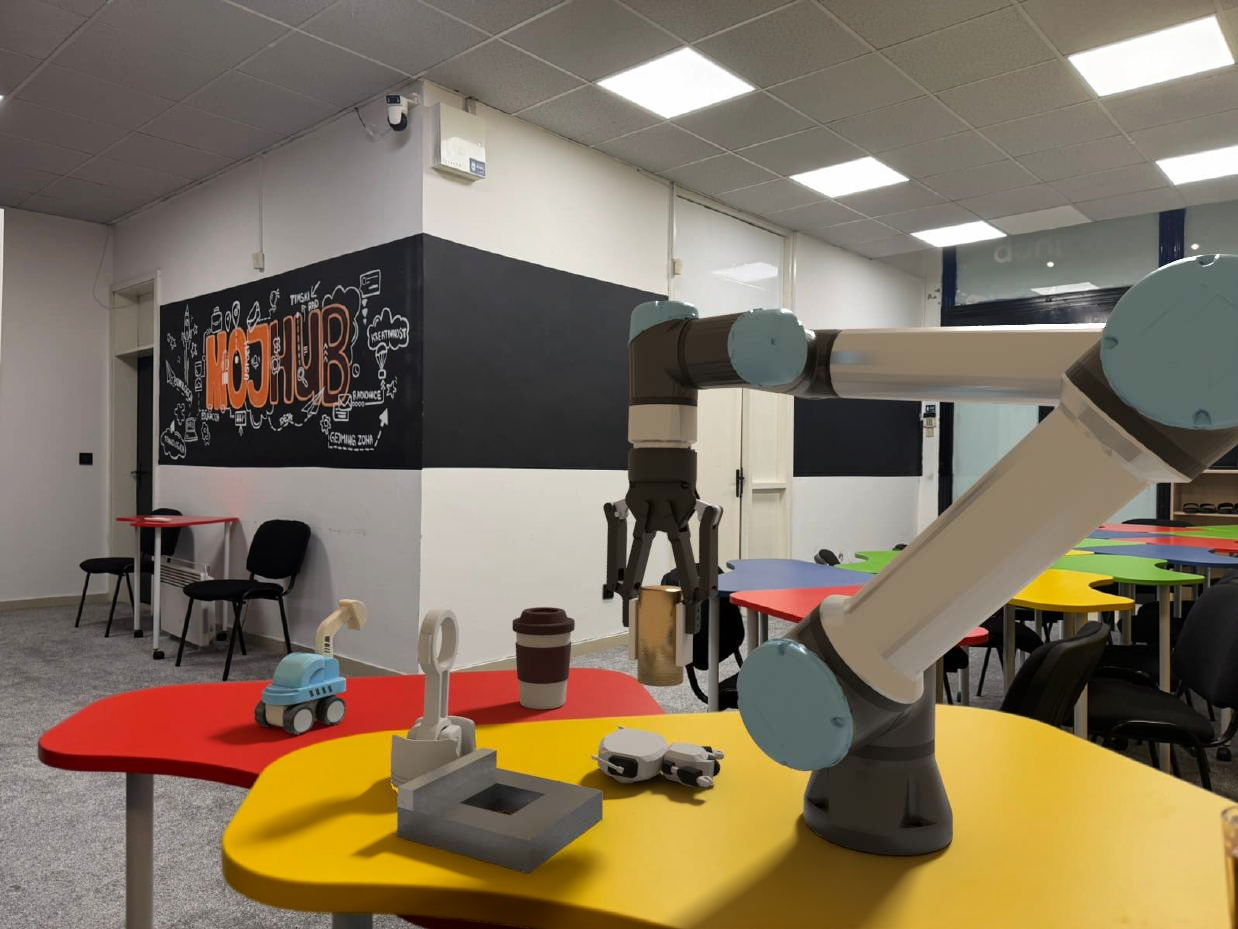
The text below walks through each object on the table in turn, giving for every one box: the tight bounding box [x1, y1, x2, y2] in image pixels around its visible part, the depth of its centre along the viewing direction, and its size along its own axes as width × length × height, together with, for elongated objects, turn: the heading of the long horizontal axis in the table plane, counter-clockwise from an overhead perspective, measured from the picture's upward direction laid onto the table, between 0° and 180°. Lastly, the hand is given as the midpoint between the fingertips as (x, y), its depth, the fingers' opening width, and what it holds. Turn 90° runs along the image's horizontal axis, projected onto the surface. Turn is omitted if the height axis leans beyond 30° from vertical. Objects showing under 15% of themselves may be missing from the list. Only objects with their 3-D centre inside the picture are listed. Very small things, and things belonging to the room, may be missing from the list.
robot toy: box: [590, 725, 725, 788], centre depth 102 cm, size 12×4×15 cm
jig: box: [396, 747, 604, 874], centre depth 87 cm, size 16×14×5 cm
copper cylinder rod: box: [636, 584, 685, 688], centre depth 91 cm, size 5×5×10 cm
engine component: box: [390, 607, 478, 788], centre depth 100 cm, size 11×20×10 cm
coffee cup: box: [511, 606, 576, 710], centre depth 133 cm, size 10×10×15 cm
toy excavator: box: [253, 598, 368, 736], centre depth 123 cm, size 9×17×17 cm, turn 148°
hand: (660, 660), depth 90 cm, fingers closed on copper cylinder rod, 5 cm apart
